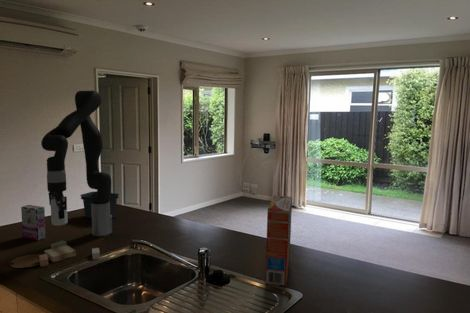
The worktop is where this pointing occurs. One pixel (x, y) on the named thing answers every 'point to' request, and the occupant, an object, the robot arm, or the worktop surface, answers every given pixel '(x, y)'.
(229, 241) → the worktop surface
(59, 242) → the brick sage
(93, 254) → the brick cream
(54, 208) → the can
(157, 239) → the worktop surface
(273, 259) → the pasta box
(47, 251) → the oak pad
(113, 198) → the storage bin
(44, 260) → the brick terracotta
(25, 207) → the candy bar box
